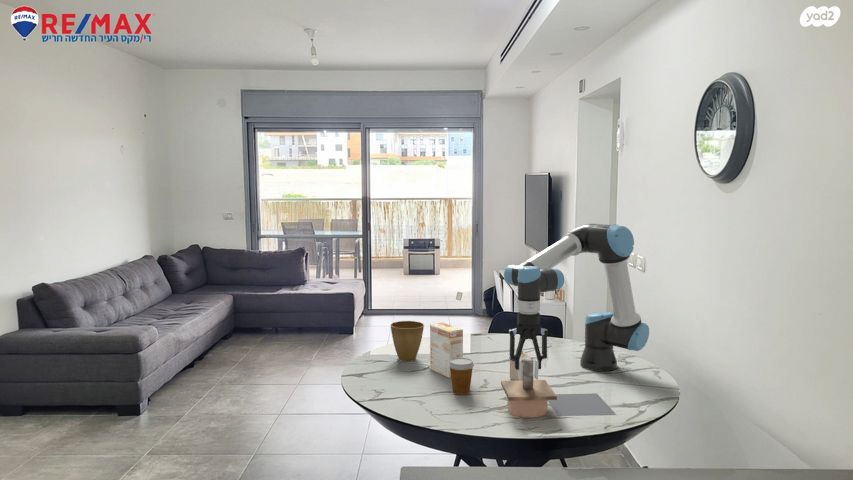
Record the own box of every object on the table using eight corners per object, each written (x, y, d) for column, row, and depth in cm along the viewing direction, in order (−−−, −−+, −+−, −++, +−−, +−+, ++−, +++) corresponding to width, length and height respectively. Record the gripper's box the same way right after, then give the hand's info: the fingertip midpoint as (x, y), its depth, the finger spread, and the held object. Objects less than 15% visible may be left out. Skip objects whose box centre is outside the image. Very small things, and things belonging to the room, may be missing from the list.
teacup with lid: (535, 381, 232) (536, 352, 231) (514, 383, 230) (514, 354, 229) (523, 371, 244) (523, 344, 243) (503, 373, 242) (503, 346, 241)
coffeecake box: (463, 375, 240) (463, 329, 238) (449, 379, 236) (449, 331, 234) (443, 366, 252) (443, 321, 250) (429, 369, 248) (429, 324, 247)
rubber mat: (596, 394, 217) (596, 393, 217) (616, 416, 197) (616, 414, 197) (543, 396, 216) (543, 394, 216) (557, 417, 197) (557, 415, 197)
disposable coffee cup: (447, 387, 226) (447, 357, 224) (471, 387, 226) (471, 356, 225) (450, 396, 216) (450, 365, 215) (475, 395, 217) (475, 364, 216)
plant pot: (412, 366, 252) (412, 330, 250) (384, 361, 260) (383, 325, 258) (430, 357, 265) (430, 322, 263) (403, 352, 272) (402, 318, 271)
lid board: (545, 383, 210) (545, 352, 209) (556, 399, 194) (557, 366, 193) (500, 384, 209) (501, 353, 208) (508, 400, 193) (509, 367, 192)
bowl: (541, 403, 209) (541, 384, 208) (550, 418, 196) (551, 398, 195) (505, 404, 208) (505, 385, 208) (512, 419, 196) (512, 398, 195)
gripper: (504, 314, 195) (503, 382, 197) (558, 314, 195) (556, 381, 198) (500, 309, 202) (499, 375, 204) (552, 309, 203) (551, 374, 205)
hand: (527, 378), depth 201 cm, fingers open, 5 cm apart
